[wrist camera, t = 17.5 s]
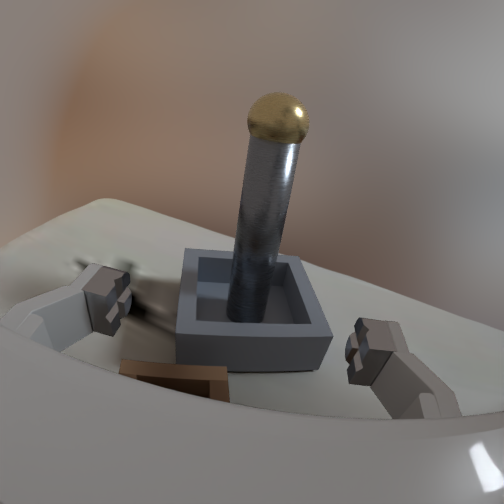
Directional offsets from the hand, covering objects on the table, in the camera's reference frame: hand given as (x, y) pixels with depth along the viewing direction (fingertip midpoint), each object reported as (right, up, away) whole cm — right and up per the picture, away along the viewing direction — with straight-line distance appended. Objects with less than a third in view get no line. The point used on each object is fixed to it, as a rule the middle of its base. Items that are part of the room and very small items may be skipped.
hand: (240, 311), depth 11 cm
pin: (0, -3, +14) cm, 14 cm away
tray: (0, -4, +14) cm, 15 cm away
